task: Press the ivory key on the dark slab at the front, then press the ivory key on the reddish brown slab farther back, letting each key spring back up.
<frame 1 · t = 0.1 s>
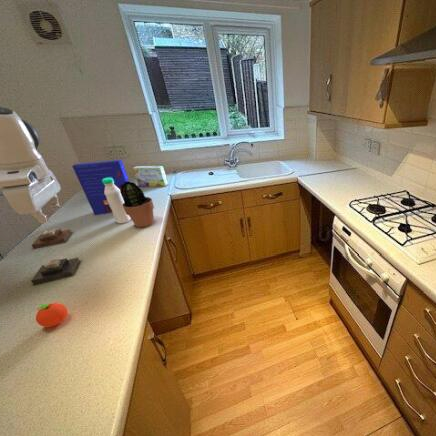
hand: (50, 215, 73), 31 cm above the worktop, tool pointing down, fingers open, 8 cm apart
front key: (53, 263, 95), point 4 cm above the worktop, slide at 0.1 cm
dark slab: (58, 272, 97), on the worktop
reddish brown slab: (53, 240, 119), on the worktop
tomato: (56, 322, 76), on the worktop
back key: (49, 232, 116), point 4 cm above the worktop, slide at 0.1 cm
water bottle: (124, 221, 136), on the worktop
potted plant: (145, 223, 132), on the worktop
cereal box: (117, 210, 149), on the worktop
snack box: (153, 185, 187), on the worktop
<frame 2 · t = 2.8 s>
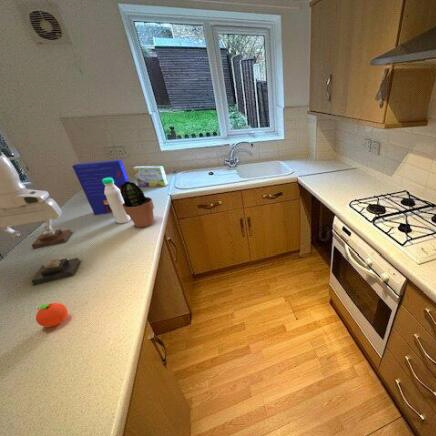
hand: (33, 233, 88), 19 cm above the worktop, tool pointing down, fingers open, 8 cm apart
nothing on the worktop moved.
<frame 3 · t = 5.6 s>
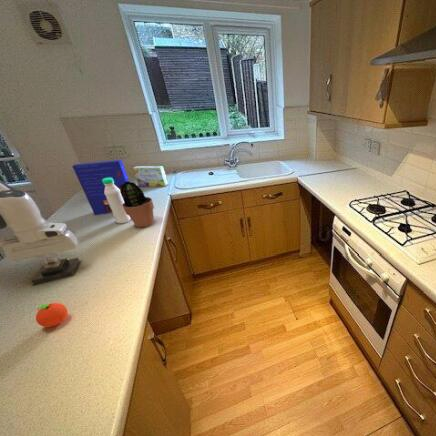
hand: (52, 262, 94), 5 cm above the worktop, tool pointing down, fingers closed, pressing on front key
front key: (53, 264, 95), point 4 cm above the worktop, slide at -0.1 cm, touching gripper
everything else where it was.
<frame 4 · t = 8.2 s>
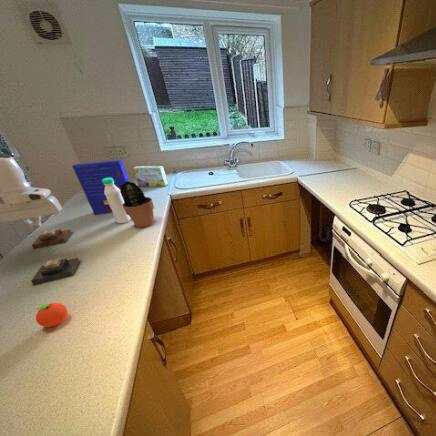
hand: (36, 226, 99), 16 cm above the worktop, tool pointing down, fingers closed
front key: (53, 263, 95), point 4 cm above the worktop, slide at 0.1 cm
everything else where it was.
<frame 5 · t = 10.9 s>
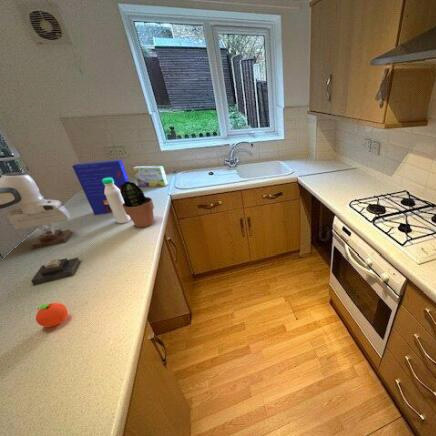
hand: (49, 232, 116), 5 cm above the worktop, tool pointing down, fingers closed, pressing on back key
back key: (50, 233, 117), point 4 cm above the worktop, slide at -0.6 cm, touching gripper
everything else where it was.
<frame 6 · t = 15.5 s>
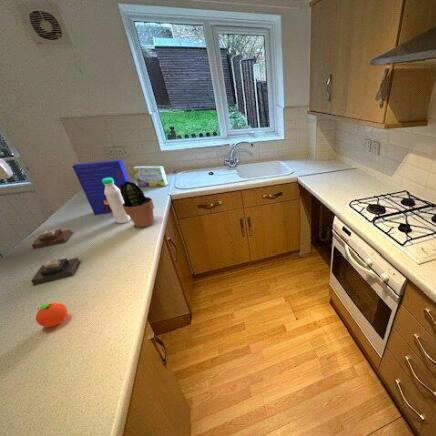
back key: (49, 232, 116), point 4 cm above the worktop, slide at 0.1 cm
everything else where it was.
at the end: front key pushed in 1.1 cm at the most during the clip, back to where it started at the end; back key pushed in 1.1 cm at the most during the clip, back to where it started at the end; back key slide at 0.1 cm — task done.
